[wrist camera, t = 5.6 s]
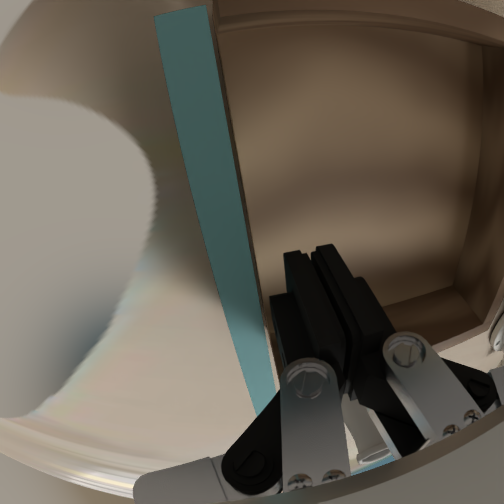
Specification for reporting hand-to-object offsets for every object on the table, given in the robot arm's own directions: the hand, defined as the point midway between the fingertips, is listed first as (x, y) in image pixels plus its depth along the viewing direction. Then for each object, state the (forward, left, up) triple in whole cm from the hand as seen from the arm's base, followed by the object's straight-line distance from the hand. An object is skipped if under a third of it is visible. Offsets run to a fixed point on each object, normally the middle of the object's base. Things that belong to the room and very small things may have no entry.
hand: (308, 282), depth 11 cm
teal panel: (0, +2, -6) cm, 6 cm away
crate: (0, -7, -7) cm, 10 cm away
